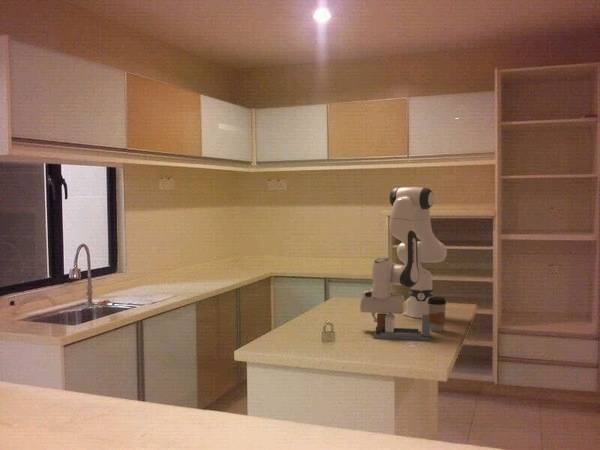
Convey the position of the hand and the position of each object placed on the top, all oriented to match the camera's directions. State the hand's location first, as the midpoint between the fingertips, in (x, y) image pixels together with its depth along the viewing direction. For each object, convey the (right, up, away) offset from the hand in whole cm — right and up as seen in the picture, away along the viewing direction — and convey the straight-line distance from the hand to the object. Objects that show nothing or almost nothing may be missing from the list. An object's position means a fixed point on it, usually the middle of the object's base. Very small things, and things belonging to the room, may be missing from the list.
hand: (381, 322), depth 272 cm
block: (0, -4, 0) cm, 4 cm away
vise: (+7, -4, -13) cm, 16 cm away
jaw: (0, -2, -12) cm, 12 cm away
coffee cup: (+25, -4, -2) cm, 26 cm away
